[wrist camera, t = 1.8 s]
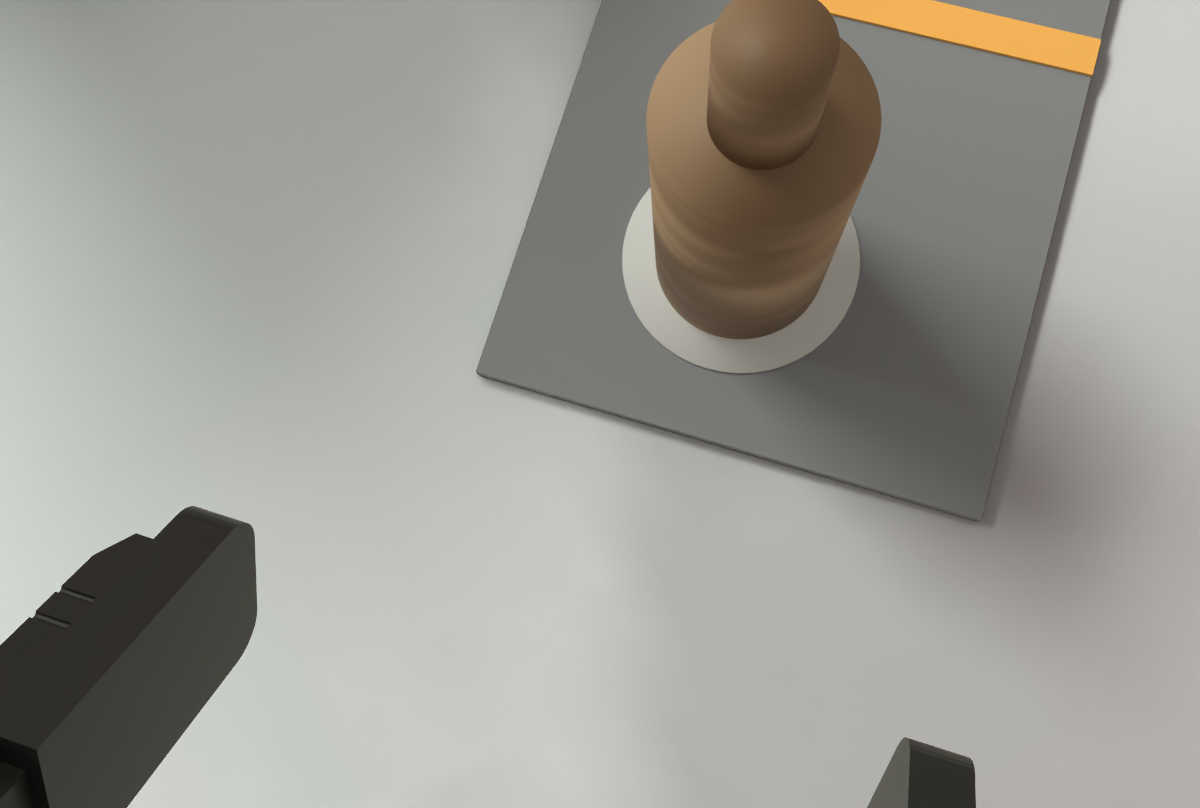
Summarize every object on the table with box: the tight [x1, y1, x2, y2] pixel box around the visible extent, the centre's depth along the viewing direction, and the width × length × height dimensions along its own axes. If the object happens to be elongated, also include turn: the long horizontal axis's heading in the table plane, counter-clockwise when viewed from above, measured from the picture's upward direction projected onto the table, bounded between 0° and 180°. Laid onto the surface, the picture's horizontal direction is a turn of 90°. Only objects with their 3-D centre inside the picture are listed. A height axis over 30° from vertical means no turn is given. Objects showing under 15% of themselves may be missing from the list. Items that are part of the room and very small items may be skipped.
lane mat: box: [476, 0, 1110, 521], centre depth 33 cm, size 15×25×1 cm, turn 163°
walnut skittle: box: [646, 0, 882, 339], centre depth 26 cm, size 5×5×12 cm
